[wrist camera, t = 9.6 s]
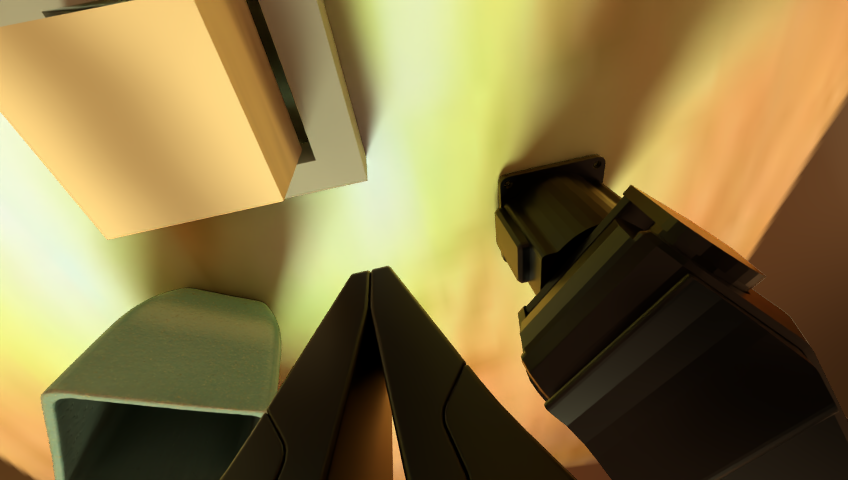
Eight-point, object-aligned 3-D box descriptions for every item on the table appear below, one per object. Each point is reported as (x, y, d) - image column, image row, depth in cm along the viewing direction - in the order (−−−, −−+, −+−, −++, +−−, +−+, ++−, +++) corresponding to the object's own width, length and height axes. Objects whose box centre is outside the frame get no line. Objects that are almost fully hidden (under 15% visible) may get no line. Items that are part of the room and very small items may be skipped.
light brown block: (242, -9, 13) (188, -12, 9) (302, 149, 16) (283, 200, 12) (73, 24, 13) (-61, 38, 9) (170, 178, 16) (107, 240, 12)
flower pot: (142, 351, 25) (53, 498, 18) (147, 253, 21) (35, 392, 14) (274, 368, 28) (245, 499, 21) (301, 285, 24) (276, 413, 17)
